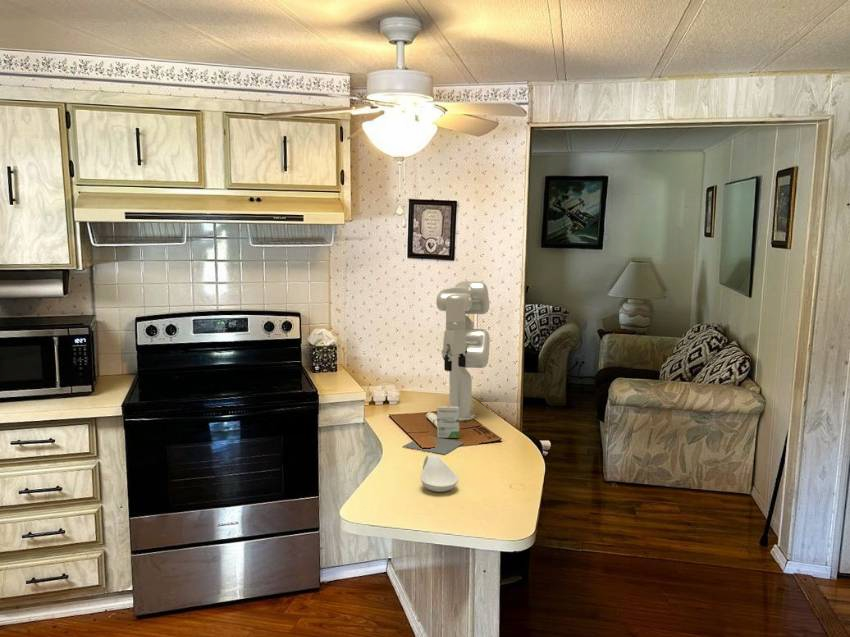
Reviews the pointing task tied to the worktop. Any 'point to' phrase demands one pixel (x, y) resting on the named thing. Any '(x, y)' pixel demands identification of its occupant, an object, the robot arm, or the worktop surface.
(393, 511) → the worktop surface
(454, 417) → the ink box
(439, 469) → the spoon rest
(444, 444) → the mat
